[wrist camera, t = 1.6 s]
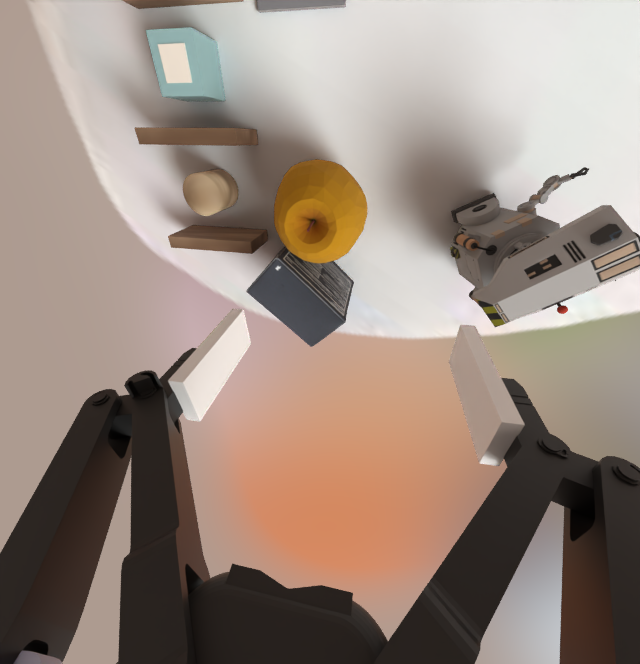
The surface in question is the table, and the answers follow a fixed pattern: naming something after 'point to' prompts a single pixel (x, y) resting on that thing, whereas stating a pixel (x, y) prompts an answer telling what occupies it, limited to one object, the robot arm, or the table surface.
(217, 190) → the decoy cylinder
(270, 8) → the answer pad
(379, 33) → the table surface
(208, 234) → the divider rack
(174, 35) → the letter cube
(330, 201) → the apple
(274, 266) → the small box
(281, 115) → the table surface
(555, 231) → the figurine
